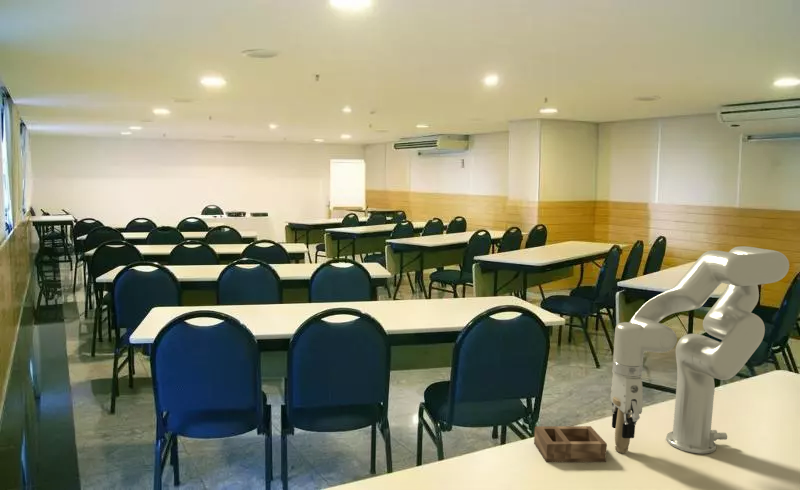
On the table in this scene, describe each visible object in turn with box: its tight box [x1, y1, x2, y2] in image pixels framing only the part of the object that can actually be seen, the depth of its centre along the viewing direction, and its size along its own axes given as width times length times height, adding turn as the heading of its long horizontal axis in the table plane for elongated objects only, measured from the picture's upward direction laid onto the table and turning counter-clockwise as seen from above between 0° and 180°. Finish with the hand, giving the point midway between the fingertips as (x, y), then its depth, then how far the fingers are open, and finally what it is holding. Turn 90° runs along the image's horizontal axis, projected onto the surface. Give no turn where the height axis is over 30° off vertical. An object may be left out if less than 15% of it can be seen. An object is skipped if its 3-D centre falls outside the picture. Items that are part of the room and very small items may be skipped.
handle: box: [613, 397, 632, 454], centre depth 161 cm, size 5×6×15 cm
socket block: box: [533, 425, 608, 463], centre depth 160 cm, size 16×11×5 cm
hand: (622, 432), depth 162 cm, fingers open, 5 cm apart
